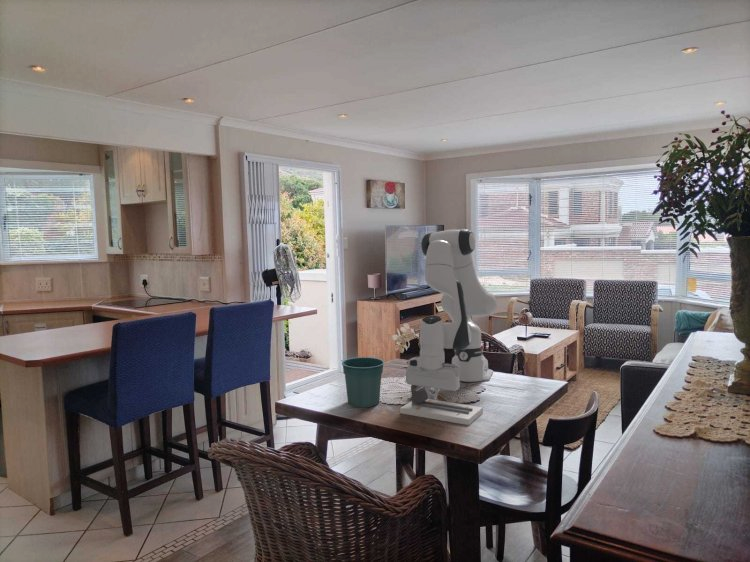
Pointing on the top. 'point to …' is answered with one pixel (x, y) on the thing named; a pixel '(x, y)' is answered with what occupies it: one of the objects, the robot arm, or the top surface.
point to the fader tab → (419, 394)
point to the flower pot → (363, 380)
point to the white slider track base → (443, 411)
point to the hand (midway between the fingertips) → (432, 399)
